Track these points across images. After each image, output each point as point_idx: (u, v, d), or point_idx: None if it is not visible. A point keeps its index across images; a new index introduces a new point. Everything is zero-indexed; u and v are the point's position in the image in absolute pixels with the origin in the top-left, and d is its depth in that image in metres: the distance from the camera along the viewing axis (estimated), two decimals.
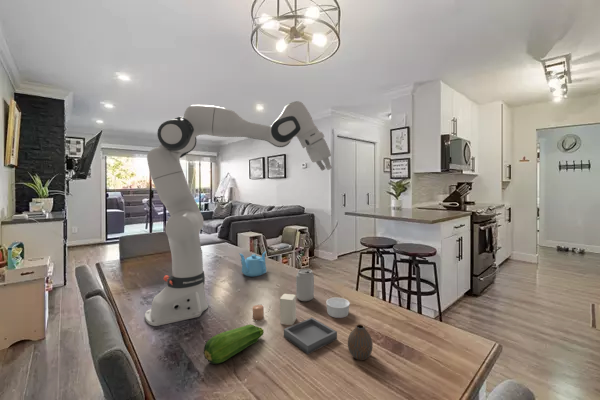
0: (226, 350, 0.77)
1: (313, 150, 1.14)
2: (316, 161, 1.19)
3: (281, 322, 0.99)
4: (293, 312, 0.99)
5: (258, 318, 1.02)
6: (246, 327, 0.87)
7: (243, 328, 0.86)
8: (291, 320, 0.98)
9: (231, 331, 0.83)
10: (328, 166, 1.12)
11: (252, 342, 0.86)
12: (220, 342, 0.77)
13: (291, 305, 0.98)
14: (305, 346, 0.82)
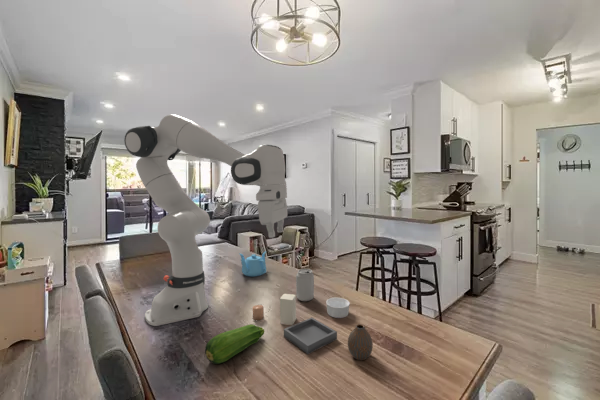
0: (228, 350, 0.77)
1: None
2: None
3: (281, 322, 0.99)
4: (293, 312, 0.99)
5: (258, 318, 1.02)
6: (247, 327, 0.87)
7: (244, 328, 0.86)
8: (291, 320, 0.98)
9: (232, 331, 0.83)
10: (270, 233, 0.90)
11: (253, 342, 0.86)
12: (221, 342, 0.77)
13: (291, 305, 0.98)
14: (305, 346, 0.82)
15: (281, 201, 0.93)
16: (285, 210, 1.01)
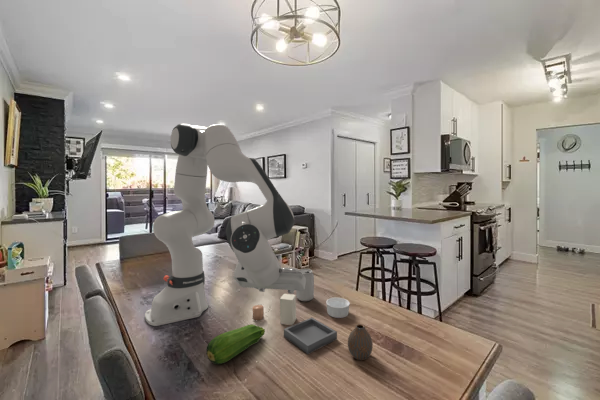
0: (229, 350, 0.77)
1: None
2: None
3: (281, 322, 0.99)
4: (293, 312, 0.99)
5: (258, 318, 1.02)
6: (248, 327, 0.87)
7: (245, 328, 0.86)
8: (291, 320, 0.98)
9: (233, 331, 0.83)
10: None
11: (254, 342, 0.86)
12: (222, 342, 0.77)
13: (291, 305, 0.98)
14: (305, 346, 0.82)
15: None
16: (292, 286, 0.80)
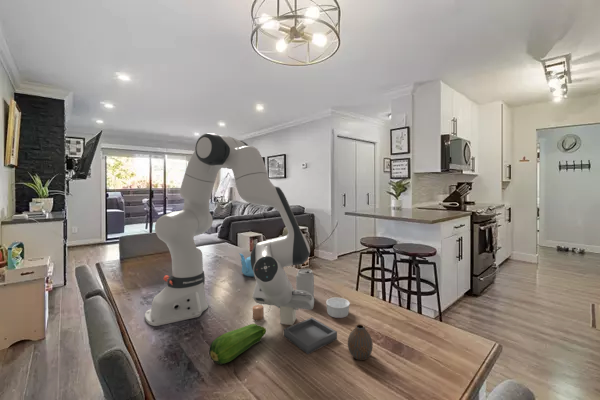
0: (233, 350, 0.77)
1: None
2: None
3: (281, 322, 0.99)
4: (293, 312, 0.99)
5: (258, 318, 1.02)
6: (249, 326, 0.87)
7: (247, 327, 0.86)
8: (291, 320, 0.98)
9: (235, 331, 0.83)
10: None
11: (256, 341, 0.86)
12: (226, 342, 0.77)
13: None
14: (305, 346, 0.82)
15: None
16: (303, 306, 0.93)
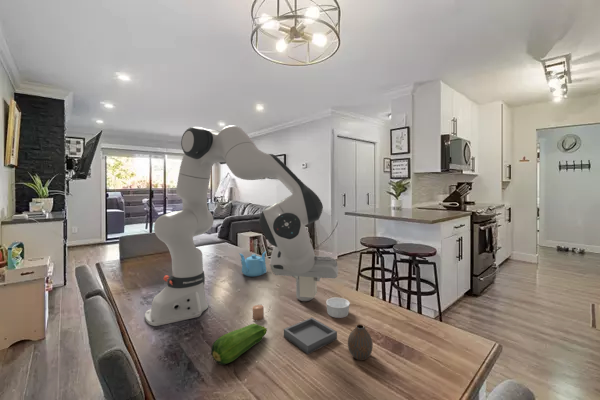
0: (235, 350, 0.77)
1: None
2: None
3: (301, 295, 0.89)
4: (314, 283, 0.89)
5: (258, 318, 1.02)
6: (250, 326, 0.87)
7: (248, 327, 0.86)
8: (312, 292, 0.88)
9: (237, 331, 0.83)
10: None
11: (257, 341, 0.87)
12: (228, 342, 0.77)
13: None
14: (305, 346, 0.82)
15: None
16: (326, 274, 0.83)
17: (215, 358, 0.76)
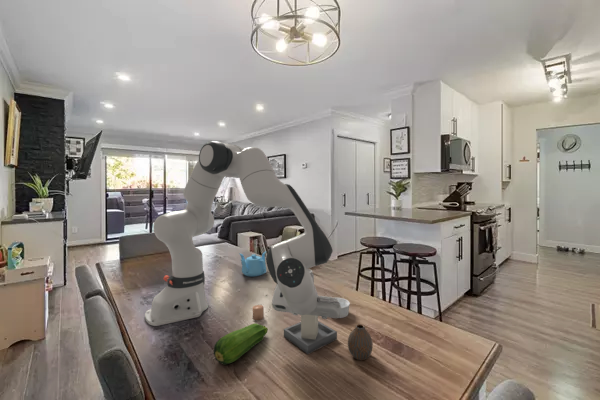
0: (237, 349, 0.77)
1: None
2: None
3: (302, 336, 0.89)
4: (316, 325, 0.88)
5: (258, 318, 1.02)
6: (252, 326, 0.87)
7: (249, 327, 0.86)
8: (314, 334, 0.87)
9: (239, 331, 0.83)
10: None
11: (258, 340, 0.87)
12: (230, 342, 0.77)
13: (314, 317, 0.87)
14: (305, 346, 0.82)
15: None
16: (328, 314, 0.82)
17: (218, 358, 0.76)
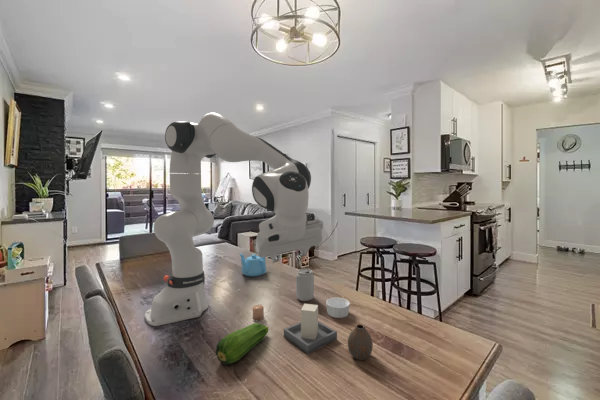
0: (240, 349, 0.78)
1: None
2: None
3: (302, 336, 0.89)
4: (316, 325, 0.88)
5: (258, 318, 1.02)
6: (253, 326, 0.88)
7: (251, 327, 0.86)
8: (314, 334, 0.87)
9: (240, 330, 0.83)
10: None
11: (260, 340, 0.87)
12: (233, 342, 0.77)
13: (314, 317, 0.87)
14: (305, 346, 0.82)
15: (289, 239, 0.81)
16: (313, 240, 0.86)
17: (220, 358, 0.76)
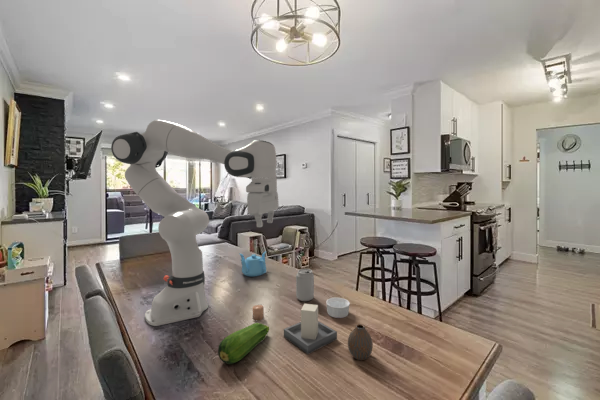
0: (242, 349, 0.78)
1: None
2: None
3: (302, 336, 0.89)
4: (316, 325, 0.88)
5: (258, 318, 1.02)
6: (254, 325, 0.88)
7: (252, 326, 0.87)
8: (314, 334, 0.87)
9: (242, 330, 0.83)
10: (258, 223, 0.97)
11: (261, 339, 0.87)
12: (235, 341, 0.77)
13: (314, 317, 0.87)
14: (305, 346, 0.82)
15: (270, 194, 0.99)
16: (276, 202, 1.08)
17: (223, 358, 0.76)
